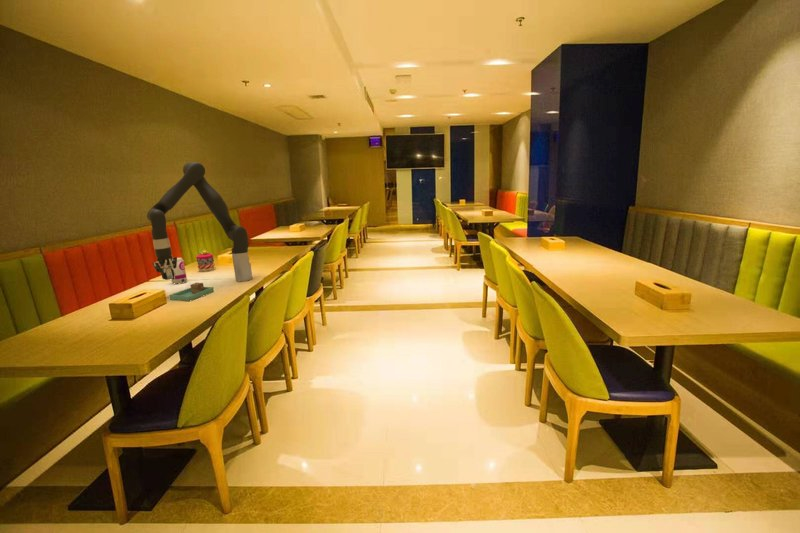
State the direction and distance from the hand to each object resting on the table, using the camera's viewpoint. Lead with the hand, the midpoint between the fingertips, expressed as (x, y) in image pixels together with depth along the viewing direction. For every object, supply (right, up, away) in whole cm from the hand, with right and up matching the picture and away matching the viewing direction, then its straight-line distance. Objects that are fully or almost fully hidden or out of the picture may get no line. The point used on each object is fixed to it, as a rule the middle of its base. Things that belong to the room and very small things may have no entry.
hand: (168, 277), depth 220 cm
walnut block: (+13, -8, +5) cm, 16 cm away
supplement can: (-11, -4, +31) cm, 34 cm away
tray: (+12, -10, +1) cm, 16 cm away
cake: (-8, +3, +61) cm, 62 cm away
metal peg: (0, -1, 0) cm, 1 cm away
